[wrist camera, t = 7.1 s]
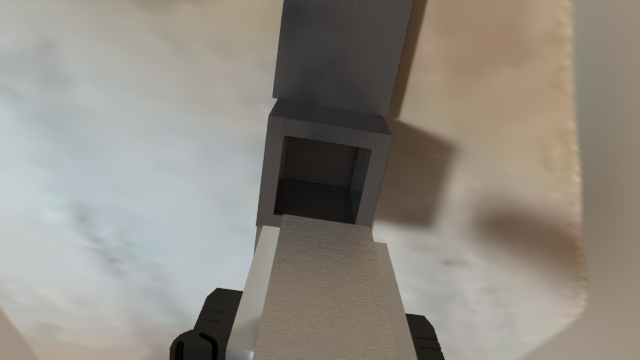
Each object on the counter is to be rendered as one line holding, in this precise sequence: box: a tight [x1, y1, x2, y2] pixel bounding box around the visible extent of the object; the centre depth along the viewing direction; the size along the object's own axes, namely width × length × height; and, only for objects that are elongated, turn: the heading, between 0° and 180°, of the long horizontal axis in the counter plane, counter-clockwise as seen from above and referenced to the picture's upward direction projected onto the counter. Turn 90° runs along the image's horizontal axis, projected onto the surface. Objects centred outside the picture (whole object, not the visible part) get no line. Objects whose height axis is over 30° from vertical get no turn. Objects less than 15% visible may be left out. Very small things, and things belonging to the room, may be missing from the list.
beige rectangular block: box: [252, 214, 399, 360], centre depth 12 cm, size 4×4×10 cm
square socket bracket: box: [254, 0, 414, 254], centre depth 27 cm, size 25×8×6 cm, turn 171°
